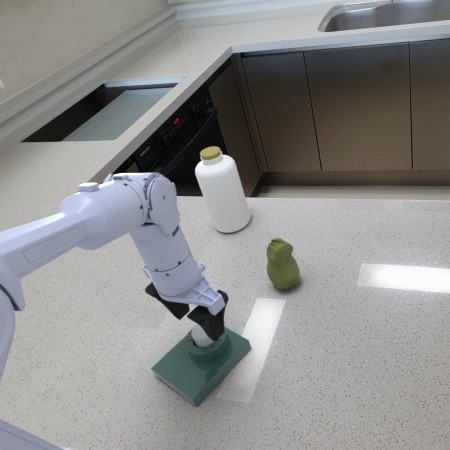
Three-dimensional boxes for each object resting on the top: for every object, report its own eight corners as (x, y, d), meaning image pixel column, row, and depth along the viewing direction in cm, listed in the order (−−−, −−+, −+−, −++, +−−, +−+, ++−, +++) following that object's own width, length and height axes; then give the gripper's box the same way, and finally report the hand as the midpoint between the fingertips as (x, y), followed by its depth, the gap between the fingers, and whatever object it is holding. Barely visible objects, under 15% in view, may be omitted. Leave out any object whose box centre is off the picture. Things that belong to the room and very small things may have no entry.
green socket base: (196, 407, 66) (188, 391, 64) (155, 375, 72) (145, 360, 70) (251, 348, 73) (245, 331, 71) (209, 323, 79) (203, 308, 76)
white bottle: (208, 233, 100) (181, 161, 89) (224, 211, 106) (201, 141, 95) (242, 236, 97) (219, 162, 86) (257, 212, 103) (237, 141, 92)
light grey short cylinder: (205, 351, 70) (201, 343, 68) (190, 342, 72) (186, 333, 70) (222, 335, 72) (218, 326, 70) (207, 326, 74) (203, 317, 72)
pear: (288, 269, 86) (277, 227, 80) (308, 281, 83) (298, 238, 77) (266, 286, 84) (253, 245, 78) (286, 299, 80) (274, 257, 74)
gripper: (229, 254, 56) (254, 325, 65) (157, 222, 65) (188, 289, 73) (186, 292, 52) (219, 362, 61) (116, 253, 61) (153, 319, 69)
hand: (200, 324), depth 67 cm, fingers open, 7 cm apart
